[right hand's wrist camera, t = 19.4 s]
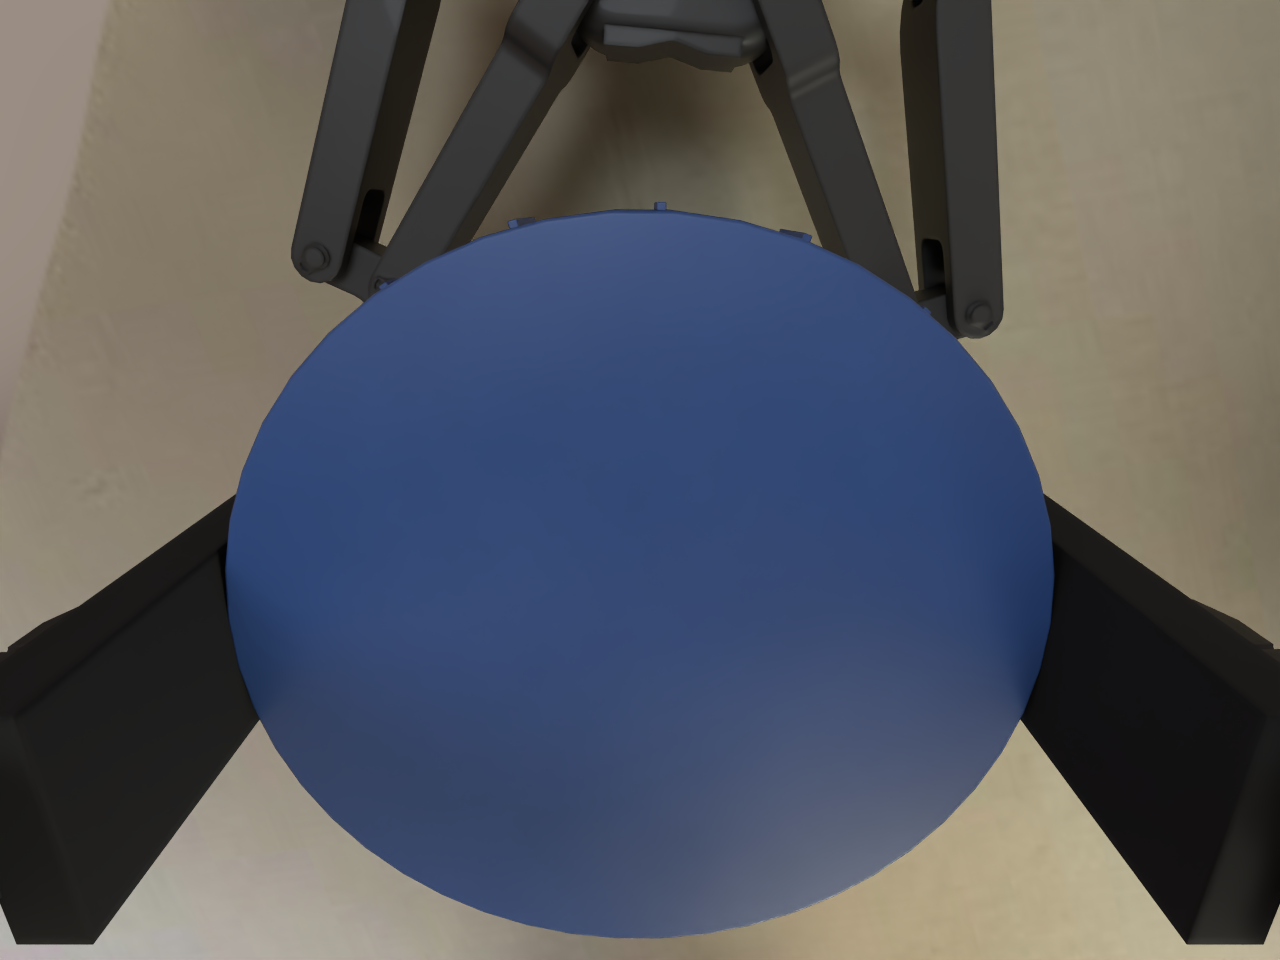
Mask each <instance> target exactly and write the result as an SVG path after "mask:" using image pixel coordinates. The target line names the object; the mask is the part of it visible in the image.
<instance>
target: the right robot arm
mask: <svg viewBox="0 0 1280 960" xmlns="http://www.w3.org/2000/svg"><path fill="white" fill-rule="evenodd" d="M1043 495H1044V499H1045V503H1046V508H1047V512H1048V516H1049V521H1050V525H1051V536H1052V549H1053V562H1054V588H1053V601H1052V614H1051V624H1050V629H1049V633H1048V638H1047V642H1046V646H1045V651H1044V655H1043V660H1042V664H1041V669H1040V671H1039V674H1038V676H1037V679H1036V682H1035V684H1034V687H1033V690H1032V692H1031V695H1030V697H1029V700H1028V703H1027V705H1026V708H1025V710H1024V713H1023V715H1022V716H1021V718H1020V719H1021V721H1022V722H1023V723H1024V725H1025V726H1026V728H1027V729H1028V730H1029V732H1030V733H1031V734H1032V736H1033V737H1034V738H1035V740H1036V741H1037V742H1038V744H1039V745H1040V746H1041V748H1042V749H1043V751H1044V752H1045V753H1046V755H1047V756H1048V757H1049V759H1050V760H1051V761H1052V763H1053V764H1054V765H1055V767H1056V768H1057V769H1058V771H1059V772H1060V773H1061V775H1062V776H1063V778H1064V779H1065V780H1066V782H1067V783H1068V784H1069V786H1070V787H1071V788H1072V790H1073V791H1074V792H1075V794H1076V795H1077V796H1078V798H1079V799H1080V801H1081V802H1082V803H1083V805H1084V806H1085V807H1086V809H1087V810H1088V811H1089V813H1090V814H1091V815H1092V817H1093V818H1094V819H1095V821H1096V822H1097V824H1098V825H1099V826H1100V828H1101V829H1102V830H1103V832H1104V833H1105V834H1106V836H1107V837H1108V838H1109V840H1110V841H1111V842H1112V844H1113V845H1114V847H1115V848H1116V849H1117V851H1118V852H1119V853H1120V855H1121V856H1122V857H1123V859H1124V860H1125V861H1126V863H1127V864H1128V865H1129V867H1130V868H1131V869H1132V871H1133V872H1134V874H1135V875H1136V876H1137V878H1138V879H1139V880H1140V882H1141V883H1142V884H1143V886H1144V887H1145V888H1146V890H1147V891H1148V892H1149V894H1150V895H1151V897H1152V898H1153V899H1154V901H1155V902H1156V903H1157V905H1158V906H1159V907H1160V909H1161V910H1162V911H1163V913H1164V914H1165V915H1166V917H1167V918H1168V920H1169V921H1170V922H1171V924H1172V925H1173V926H1174V928H1175V929H1176V930H1177V932H1178V933H1179V934H1180V936H1181V937H1182V938H1183V940H1184V941H1185V943H1186V944H1264V942H1265V939H1266V937H1267V934H1268V932H1269V929H1270V927H1271V924H1272V922H1273V919H1274V917H1275V914H1276V912H1277V909H1278V907H1279V904H1280V649H1274V648H1273V644H1272V643H1271V642H1269V641H1268V640H1266V639H1265V638H1263V637H1262V636H1260V635H1259V634H1258V633H1256V632H1255V631H1253V630H1252V629H1250V628H1249V627H1248V626H1246V625H1245V624H1243V623H1242V622H1240V621H1239V620H1237V619H1235V618H1233V617H1230V616H1228V615H1226V614H1224V613H1222V612H1219V611H1217V610H1215V609H1213V608H1210V607H1208V606H1206V605H1204V604H1202V603H1199V602H1197V601H1195V600H1192V599H1190V598H1189V597H1187V596H1186V595H1185V594H1183V593H1182V592H1180V591H1179V590H1178V589H1176V588H1175V587H1173V586H1172V585H1171V584H1169V583H1168V582H1166V581H1165V580H1164V579H1162V578H1161V577H1159V576H1158V575H1157V574H1155V573H1154V572H1152V571H1151V570H1150V569H1148V568H1147V567H1145V566H1144V565H1143V564H1141V563H1140V562H1138V561H1137V560H1136V559H1134V558H1133V557H1131V556H1130V555H1129V554H1127V553H1126V552H1124V551H1123V550H1122V549H1120V548H1119V547H1117V546H1116V545H1115V544H1113V543H1112V542H1110V541H1109V540H1108V539H1106V538H1105V537H1103V536H1102V535H1101V534H1099V533H1098V532H1096V531H1095V530H1094V529H1092V528H1091V527H1089V526H1088V525H1087V524H1085V523H1084V522H1082V521H1081V520H1080V519H1078V518H1077V517H1075V516H1074V515H1073V514H1071V513H1070V512H1069V511H1067V510H1066V509H1064V508H1063V507H1062V506H1060V505H1059V504H1057V503H1056V502H1055V501H1053V500H1052V499H1050V498H1049V497H1048V496H1046V495H1045V494H1043ZM235 497H236V494H235V495H234V496H233V497H231V498H230V499H228V500H227V501H226V502H224V503H223V504H221V505H220V506H219V507H217V508H216V509H214V510H213V511H212V512H210V513H209V514H207V515H206V516H205V517H203V518H202V519H200V520H199V521H198V522H196V523H195V524H193V525H192V526H191V527H189V528H188V529H186V530H185V531H184V532H182V533H181V534H179V535H178V536H177V537H175V538H174V539H172V540H171V541H170V542H168V543H167V544H165V545H164V546H163V547H161V548H160V549H158V550H157V551H156V552H154V553H153V554H151V555H150V556H149V557H147V558H146V559H144V560H143V561H142V562H140V563H139V564H137V565H136V566H135V567H133V568H132V569H130V570H129V571H128V572H126V573H125V574H123V575H122V576H121V577H119V578H118V579H116V580H115V581H114V582H112V583H111V584H110V585H108V586H107V587H105V588H104V589H103V590H101V591H100V592H98V593H97V594H96V595H94V596H93V597H91V598H90V599H89V600H87V601H86V602H84V603H83V604H82V605H80V606H79V607H77V608H74V609H72V610H70V611H68V612H66V613H63V614H61V615H59V616H57V617H55V618H52V619H50V620H48V621H46V622H44V623H42V624H41V625H39V626H38V627H36V628H35V629H33V630H32V631H31V632H29V633H28V634H26V635H25V636H23V637H22V638H21V639H19V640H18V641H16V642H15V643H13V644H12V645H11V646H9V647H8V651H7V652H1V653H0V904H1V907H2V909H3V912H4V914H5V917H6V919H7V922H8V924H9V927H10V929H11V932H12V934H13V936H14V939H15V941H16V944H94V943H95V941H96V940H97V939H98V937H99V936H100V935H101V933H102V932H103V930H104V929H105V928H106V926H107V925H108V924H109V922H110V921H111V920H112V918H113V917H114V916H115V914H116V913H117V912H118V910H119V909H120V907H121V906H122V905H123V903H124V902H125V901H126V899H127V898H128V897H129V895H130V894H131V893H132V891H133V890H134V889H135V887H136V886H137V884H138V883H139V882H140V880H141V879H142V878H143V876H144V875H145V874H146V872H147V871H148V870H149V868H150V867H151V866H152V864H153V863H154V861H155V860H156V859H157V857H158V856H159V855H160V853H161V852H162V851H163V849H164V848H165V847H166V845H167V844H168V843H169V841H170V840H171V839H172V837H173V836H174V834H175V833H176V832H177V830H178V829H179V828H180V826H181V825H182V824H183V822H184V821H185V820H186V818H187V817H188V816H189V814H190V813H191V811H192V810H193V809H194V807H195V806H196V805H197V803H198V802H199V801H200V799H201V798H202V797H203V795H204V794H205V793H206V791H207V790H208V788H209V787H210V786H211V784H212V783H213V782H214V780H215V779H216V778H217V776H218V775H219V774H220V772H221V771H222V770H223V768H224V767H225V765H226V764H227V763H228V761H229V760H230V759H231V757H232V756H233V755H234V753H235V752H236V751H237V749H238V748H239V747H240V745H241V744H242V743H243V741H244V740H245V738H246V737H247V736H248V734H249V733H250V732H251V730H252V729H253V728H254V726H255V725H256V724H257V722H258V721H259V720H260V718H259V717H258V715H257V713H256V711H255V709H254V707H253V704H252V701H251V699H250V696H249V693H248V691H247V688H246V685H245V682H244V680H243V677H242V674H241V671H240V669H239V666H238V662H237V658H236V653H235V648H234V644H233V639H232V634H231V630H230V625H229V620H228V609H227V593H226V577H225V566H226V555H227V544H228V533H229V522H230V517H231V513H232V509H233V505H234V501H235Z"/></svg>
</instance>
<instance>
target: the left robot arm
mask: <svg viewBox="0 0 1280 960" xmlns="http://www.w3.org/2000/svg"><path fill="white" fill-rule="evenodd" d="M440 2H441V0H346V4H345V8H344V13H343V17H342V22H341V26H340V31H339V35H338V40H337V44H336V49H335V53H334V58H333V62H332V67H331V71H330V76H329V80H328V85H327V89H326V94H325V98H324V103H323V107H322V112H321V116H320V121H319V126H318V130H317V135H316V139H315V144H314V148H313V153H312V157H311V162H310V166H309V171H308V175H307V180H306V184H305V189H304V193H303V198H302V202H301V207H300V211H299V216H298V220H297V225H296V229H295V234H294V238H293V243H292V247H291V259H292V261H293V264H294V267H295V269H296V270H297V271H298V272H299V273H300V275H301V276H302V277H304V278H306V279H307V280H309V281H311V282H317V283H323V282H326V283H328V284H330V285H332V286H335V287H337V288H339V289H341V290H344V291H346V292H348V293H350V294H352V295H354V296H356V297H358V298H359V299H361V300H362V301H363V302H365V301H366V300H368V299H369V298H370V297H371V296H372V295H373V294H375V293H377V292H378V291H380V290H381V289H380V288H379V286H380V285H382V284H383V283H384V282H387V281H390V280H394V279H397V278H400V277H402V276H404V275H405V274H407V273H409V272H410V271H412V270H413V269H415V268H416V267H418V266H420V265H421V264H423V263H424V262H426V261H429V260H431V259H433V258H435V257H438V256H440V255H442V254H444V253H447V252H449V251H451V250H453V249H456V248H458V247H460V246H463V245H465V244H467V243H469V242H470V241H471V239H472V238H473V236H474V234H475V233H476V231H477V229H478V228H479V226H480V224H481V223H482V221H483V219H484V218H485V216H486V214H487V213H488V211H489V209H490V208H491V206H492V204H493V203H494V201H495V199H496V198H497V196H498V194H499V193H500V191H501V189H502V188H503V186H504V184H505V183H506V181H507V179H508V178H509V176H510V174H511V173H512V171H513V169H514V168H515V166H516V164H517V163H518V161H519V159H520V158H521V156H522V154H523V152H524V151H525V149H526V147H527V146H528V144H529V142H530V141H531V139H532V137H533V136H534V134H535V132H536V131H537V129H538V127H539V126H540V124H541V122H542V121H543V119H544V117H545V116H546V114H547V112H548V111H549V109H550V107H551V106H552V104H553V102H554V101H555V99H556V97H557V96H558V94H559V93H560V91H561V90H562V89H563V88H564V87H565V86H566V85H567V84H568V82H569V81H570V80H571V78H572V76H573V75H574V73H575V72H576V70H577V68H578V67H579V65H580V63H581V62H582V60H583V58H584V57H585V55H586V53H587V52H588V50H589V48H590V47H591V48H593V49H595V50H596V51H598V52H600V53H602V54H604V55H606V58H607V61H617V62H628V63H642V62H647V61H652V60H657V59H662V58H667V57H671V58H674V59H677V60H679V61H682V62H684V63H686V64H689V65H691V66H694V67H696V68H699V69H702V70H712V71H723V72H732V70H733V69H734V67H738V66H742V65H745V64H747V63H749V64H750V67H751V70H752V72H753V75H754V78H755V80H756V83H757V86H758V88H759V91H760V93H761V96H762V98H763V100H764V102H765V104H766V105H767V107H768V108H769V109H770V111H771V113H772V115H773V117H774V120H775V122H776V125H777V128H778V130H779V133H780V136H781V138H782V141H783V144H784V146H785V149H786V152H787V154H788V157H789V160H790V162H791V165H792V167H793V170H794V173H795V175H796V178H797V181H798V183H799V186H800V189H801V191H802V194H803V197H804V199H805V202H806V205H807V207H808V210H809V213H810V215H811V218H812V220H813V223H814V226H815V228H816V231H817V234H818V236H819V239H820V242H821V244H822V247H823V248H824V249H826V250H828V251H830V252H832V253H835V254H837V255H839V256H841V257H843V258H846V259H848V260H850V261H852V262H854V263H857V264H859V265H860V266H862V267H863V268H865V269H867V270H868V271H870V272H871V273H873V274H874V275H876V276H877V277H879V278H880V279H882V280H884V281H885V282H887V283H888V284H890V285H891V286H893V287H894V288H896V289H897V290H899V291H901V292H902V293H904V294H905V295H907V296H908V297H910V298H911V299H912V300H913V301H915V302H916V303H917V304H918V305H920V306H923V307H926V308H927V309H928V310H929V311H930V312H931V314H930V316H932V317H933V318H934V319H935V320H936V321H937V322H938V323H940V324H941V325H942V326H943V327H944V328H945V329H946V330H947V331H949V332H950V333H951V334H952V335H953V336H954V337H955V338H956V339H959V338H963V337H968V338H982V337H985V336H987V335H990V334H991V333H992V332H993V331H994V330H995V329H996V328H997V327H998V325H999V324H1000V322H1001V320H1002V316H1003V310H1004V307H1003V283H1002V258H1001V233H1000V209H999V184H998V160H997V135H996V110H995V86H994V61H993V37H992V12H991V0H903V5H902V11H901V24H900V54H901V66H902V79H903V92H904V105H905V117H906V130H907V143H908V155H909V168H910V181H911V194H912V206H913V219H914V232H915V244H916V257H917V270H918V283H919V290H918V291H915V292H914V289H913V286H912V283H911V281H910V278H909V275H908V272H907V269H906V266H905V263H904V260H903V257H902V254H901V251H900V249H899V246H898V243H897V240H896V237H895V234H894V231H893V228H892V225H891V222H890V219H889V217H888V214H887V211H886V208H885V205H884V202H883V199H882V196H881V193H880V190H879V187H878V184H877V182H876V179H875V176H874V173H873V170H872V167H871V164H870V161H869V158H868V155H867V152H866V150H865V147H864V144H863V141H862V138H861V135H860V132H859V129H858V126H857V123H856V120H855V118H854V115H853V112H852V109H851V106H850V103H849V100H848V97H847V94H846V91H845V88H844V86H843V83H842V79H841V76H840V70H839V63H840V59H839V53H838V48H837V45H836V41H835V38H834V35H833V32H832V30H831V27H830V24H829V21H828V18H827V15H826V12H825V9H824V6H823V3H822V0H519V1H518V3H517V5H516V6H515V8H514V10H513V12H512V14H511V16H510V18H509V20H508V23H507V25H506V29H505V33H504V38H503V40H502V43H501V45H500V47H499V49H498V51H497V52H496V54H495V56H494V58H493V60H492V61H491V63H490V65H489V67H488V68H487V70H486V72H485V74H484V76H483V77H482V79H481V81H480V83H479V84H478V86H477V88H476V90H475V92H474V93H473V95H472V97H471V99H470V100H469V102H468V104H467V106H466V108H465V109H464V111H463V113H462V115H461V116H460V118H459V120H458V122H457V124H456V125H455V127H454V129H453V131H452V132H451V134H450V136H449V138H448V140H447V141H446V143H445V145H444V147H443V148H442V150H441V152H440V154H439V156H438V157H437V159H436V161H435V163H434V164H433V166H432V168H431V170H430V172H429V173H428V175H427V177H426V179H425V180H424V182H423V184H422V186H421V188H420V189H419V191H418V193H417V195H416V196H415V198H414V200H413V202H412V204H411V205H410V207H409V209H408V211H407V212H406V214H405V216H404V218H403V220H402V221H401V223H400V225H399V227H398V229H397V230H396V232H395V234H394V236H393V237H392V239H391V241H390V243H389V245H388V246H387V247H386V246H384V245H381V244H379V243H378V242H379V238H380V234H381V230H382V227H383V223H384V219H385V215H386V211H387V207H388V204H389V200H390V196H391V192H392V188H393V184H394V180H395V177H396V173H397V169H398V165H399V161H400V157H401V153H402V150H403V146H404V142H405V138H406V134H407V130H408V126H409V123H410V119H411V115H412V111H413V107H414V103H415V99H416V96H417V92H418V88H419V84H420V80H421V76H422V73H423V69H424V65H425V61H426V57H427V53H428V49H429V46H430V42H431V38H432V34H433V30H434V26H435V22H436V19H437V15H438V11H439V7H440Z"/></svg>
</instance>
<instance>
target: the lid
mask: <svg viewBox="0 0 1280 960" xmlns="http://www.w3.org/2000/svg"><path fill="white" fill-rule="evenodd" d="M666 204H667V203H666V202H655V204H654V209H655V210H632V209H615V210H608V211H600V212H593V213H585V214H578V215H570V216H563V217H556V218H549V219H544V220H540V221H535V218H534V217H530V218H521V219H514V220H511V221H508V225H509V228H510V229H508V230H504V231H501V232H497V233H494V234H490V235H486V236H483V237H481V238H478V239H476V240H474V241H472V242H469V243H467V244H465V245H463V246H460V247H458V248H456V249H453V250H451V251H449V252H447V253H444V254H442V255H440V256H438V257H435V258H433V259H431V260H429V261H426V262H424V263H423V264H421V265H420V266H418V267H416V268H415V269H413V270H412V271H410V272H409V273H407V274H405V275H404V276H402V277H400V278H397V279H394V280H390V281H387V282H384V283H383V284H382V285H380V286H379V288H380V289H381V290H380V291H378V292H377V293H375V294H373V295H372V296H371V297H370V298H369V299H368V300H366V301H365V302H364V303H363V304H362V305H361V306H359V307H358V308H357V309H356V310H355V311H354V312H352V313H351V314H350V315H349V316H348V317H347V318H345V319H344V320H343V321H342V322H341V323H340V324H338V325H337V326H336V327H335V328H334V329H333V330H331V331H330V332H329V333H328V334H327V335H326V337H325V338H324V339H323V340H322V341H321V342H320V344H319V345H318V346H317V347H316V348H315V349H314V351H313V352H312V353H311V354H310V355H309V356H308V357H307V359H306V360H305V361H304V362H303V363H302V364H301V366H300V367H299V368H298V369H297V370H296V371H295V373H294V374H293V375H292V376H291V378H290V379H289V381H288V383H287V384H286V386H285V387H284V389H283V391H282V392H281V394H280V395H279V397H278V399H277V400H276V402H275V403H274V405H273V407H272V408H271V410H270V411H269V413H268V415H267V416H266V418H265V419H264V421H263V423H262V425H261V427H260V430H259V432H258V435H257V437H256V439H255V442H254V444H253V446H252V449H251V451H250V453H249V456H248V458H247V460H246V463H245V465H244V467H243V470H242V473H241V477H240V481H239V485H238V489H237V493H236V497H235V501H234V505H233V509H232V513H231V517H230V522H229V533H228V544H227V555H226V566H225V577H226V593H227V609H228V620H229V625H230V630H231V634H232V639H233V644H234V648H235V653H236V658H237V662H238V666H239V669H240V671H241V674H242V677H243V680H244V682H245V685H246V688H247V691H248V693H249V696H250V699H251V701H252V704H253V707H254V709H255V711H256V713H257V715H258V717H259V718H260V720H261V722H262V724H263V726H264V728H265V730H266V732H267V734H268V735H269V737H270V739H271V741H272V743H273V745H274V747H275V749H276V750H277V751H278V753H279V754H280V756H281V757H282V758H283V760H284V761H285V763H286V764H287V765H288V767H289V768H290V770H291V771H292V772H293V774H294V775H295V777H296V778H297V780H298V781H299V782H300V784H301V785H302V786H303V787H304V788H305V790H306V791H307V792H308V793H309V794H310V795H311V796H312V797H313V798H314V799H315V800H316V802H317V803H318V804H319V805H320V806H321V807H322V808H323V809H324V810H325V811H326V813H327V814H328V815H329V816H330V817H331V818H332V819H333V820H334V821H335V822H337V823H338V824H339V825H340V826H341V827H342V828H343V829H345V830H346V831H347V832H348V833H349V834H350V835H352V836H353V837H354V838H355V839H356V840H357V841H358V842H360V843H361V844H362V845H363V846H364V847H365V848H367V849H368V850H370V851H371V852H373V853H374V854H375V855H377V856H378V857H380V858H381V859H383V860H384V861H386V862H387V863H389V864H390V865H391V866H393V867H394V868H396V869H397V870H399V871H400V872H402V873H403V874H405V875H407V876H409V877H410V878H412V879H414V880H416V881H418V882H420V883H422V884H423V885H425V886H427V887H429V888H431V889H433V890H435V891H436V892H438V893H440V894H442V895H444V896H447V897H449V898H451V899H454V900H456V901H459V902H461V903H464V904H466V905H468V906H471V907H473V908H476V909H478V910H480V911H483V912H486V913H489V914H492V915H496V916H499V917H502V918H506V919H509V920H512V921H516V922H519V923H522V924H526V925H530V926H535V927H540V928H545V929H550V930H555V931H560V932H565V933H570V934H580V935H590V936H600V937H610V938H668V937H679V936H690V935H702V934H708V933H714V932H719V931H724V930H730V929H735V928H740V927H746V926H750V925H754V924H757V923H760V922H764V921H767V920H771V919H774V918H778V917H781V916H785V915H788V914H791V913H794V912H796V911H799V910H801V909H804V908H806V907H809V906H811V905H814V904H816V903H819V902H821V901H824V900H826V899H829V898H831V897H834V896H836V895H837V894H839V893H841V892H843V891H845V890H847V889H849V888H851V887H853V886H854V885H856V884H858V883H860V882H862V881H864V880H866V879H868V878H870V877H872V876H873V875H875V874H876V873H878V872H879V871H881V870H882V869H884V868H885V867H887V866H888V865H890V864H891V863H893V862H894V861H896V860H897V859H899V858H900V857H902V856H903V855H905V854H906V853H908V852H909V851H910V850H912V849H913V848H914V847H915V846H916V845H918V844H919V843H920V842H921V841H922V840H923V839H925V838H926V837H927V836H928V835H929V834H931V833H932V832H933V831H934V830H935V829H936V828H938V827H939V826H940V825H941V824H942V823H944V822H945V821H946V820H947V818H948V817H949V816H950V815H951V814H952V813H953V812H954V811H955V810H956V809H957V808H958V807H959V806H960V805H961V803H962V802H963V801H964V800H965V799H966V798H967V797H968V796H969V795H970V794H971V793H972V792H973V791H974V790H975V788H976V787H977V786H978V784H979V783H980V782H981V780H982V779H983V777H984V776H985V775H986V773H987V772H988V771H989V769H990V768H991V766H992V765H993V764H994V762H995V761H996V760H997V758H998V757H999V755H1000V754H1001V753H1002V751H1003V749H1004V747H1005V746H1006V744H1007V742H1008V740H1009V738H1010V737H1011V735H1012V733H1013V731H1014V729H1015V727H1016V726H1017V724H1018V722H1019V720H1020V718H1021V716H1022V715H1023V713H1024V710H1025V708H1026V705H1027V703H1028V700H1029V697H1030V695H1031V692H1032V690H1033V687H1034V684H1035V682H1036V679H1037V676H1038V674H1039V671H1040V669H1041V664H1042V660H1043V655H1044V651H1045V646H1046V642H1047V638H1048V633H1049V629H1050V624H1051V614H1052V601H1053V588H1054V562H1053V549H1052V536H1051V525H1050V521H1049V516H1048V512H1047V508H1046V503H1045V499H1044V495H1043V491H1042V486H1041V482H1040V478H1039V474H1038V472H1037V470H1036V467H1035V465H1034V462H1033V460H1032V457H1031V455H1030V452H1029V450H1028V447H1027V445H1026V443H1025V440H1024V438H1023V435H1022V433H1021V430H1020V428H1019V426H1018V424H1017V423H1016V421H1015V419H1014V418H1013V416H1012V414H1011V413H1010V411H1009V409H1008V408H1007V406H1006V404H1005V403H1004V401H1003V399H1002V398H1001V396H1000V394H999V393H998V391H997V389H996V388H995V386H994V384H993V383H992V381H991V380H990V379H989V377H988V376H987V375H986V374H985V373H984V371H983V370H982V369H981V368H980V367H979V365H978V364H977V363H976V362H975V361H974V359H973V358H972V357H971V356H970V355H969V353H968V352H967V351H966V350H965V349H964V347H963V346H962V345H961V344H960V343H959V341H958V340H957V339H956V338H955V337H954V336H953V335H952V334H951V333H950V332H949V331H947V330H946V329H945V328H944V327H943V326H942V325H941V324H940V323H938V322H937V321H936V320H935V319H934V318H933V317H932V316H930V314H931V312H930V311H929V310H928V309H927V308H926V307H923V306H920V305H918V304H917V303H916V302H915V301H913V300H912V299H911V298H910V297H908V296H907V295H905V294H904V293H902V292H901V291H899V290H897V289H896V288H894V287H893V286H891V285H890V284H888V283H887V282H885V281H884V280H882V279H880V278H879V277H877V276H876V275H874V274H873V273H871V272H870V271H868V270H867V269H865V268H863V267H862V266H860V265H859V264H857V263H854V262H852V261H850V260H848V259H846V258H843V257H841V256H839V255H837V254H835V253H832V252H830V251H828V250H826V249H824V248H822V247H819V246H817V245H815V244H813V243H811V242H810V241H811V239H812V236H811V235H808V234H806V233H802V232H796V231H790V230H784V229H780V231H779V232H778V231H775V230H771V229H768V228H764V227H761V226H758V225H754V224H751V223H748V222H744V221H741V220H735V219H728V218H721V217H715V216H708V215H701V214H694V213H688V212H681V211H674V210H666Z"/></svg>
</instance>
